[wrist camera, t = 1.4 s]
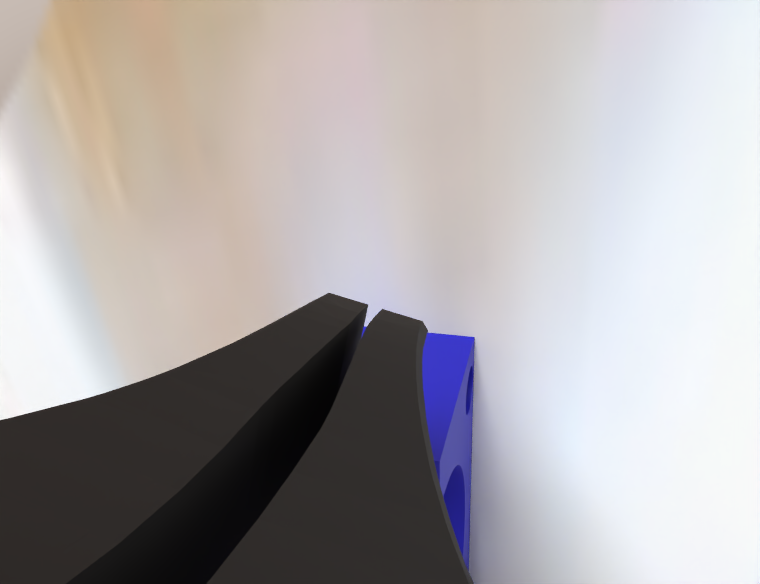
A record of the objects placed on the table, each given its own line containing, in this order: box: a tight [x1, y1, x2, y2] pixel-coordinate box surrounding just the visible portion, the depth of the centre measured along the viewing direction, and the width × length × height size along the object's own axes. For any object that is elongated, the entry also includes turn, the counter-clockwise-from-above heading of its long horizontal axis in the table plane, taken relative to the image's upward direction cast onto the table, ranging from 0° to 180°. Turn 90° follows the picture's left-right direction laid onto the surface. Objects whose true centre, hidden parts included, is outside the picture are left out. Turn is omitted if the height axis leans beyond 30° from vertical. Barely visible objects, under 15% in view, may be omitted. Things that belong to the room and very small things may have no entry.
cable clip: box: [361, 327, 475, 571], centre depth 22 cm, size 12×4×6 cm, turn 2°
